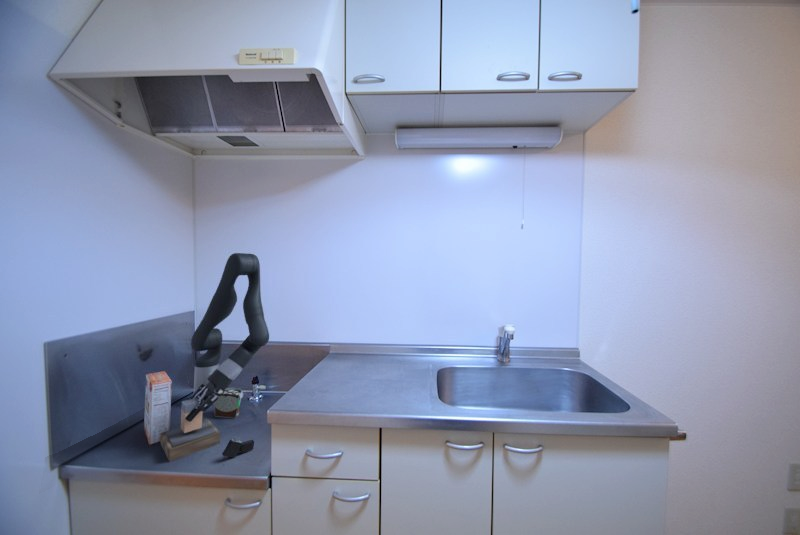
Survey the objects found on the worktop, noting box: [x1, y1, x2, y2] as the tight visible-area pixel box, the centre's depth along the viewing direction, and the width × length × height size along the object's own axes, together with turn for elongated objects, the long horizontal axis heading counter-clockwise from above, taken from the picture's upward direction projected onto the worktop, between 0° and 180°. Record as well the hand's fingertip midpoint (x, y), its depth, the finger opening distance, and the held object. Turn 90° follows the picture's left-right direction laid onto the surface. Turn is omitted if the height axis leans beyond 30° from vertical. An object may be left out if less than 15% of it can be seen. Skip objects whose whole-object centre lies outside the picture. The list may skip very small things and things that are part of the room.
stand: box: [159, 418, 221, 462], centre depth 100 cm, size 14×14×4 cm
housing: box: [180, 398, 204, 433], centre depth 101 cm, size 5×5×9 cm
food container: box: [213, 387, 244, 419], centre depth 122 cm, size 12×6×10 cm, turn 84°
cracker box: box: [143, 370, 173, 446], centre depth 105 cm, size 14×6×21 cm, turn 47°
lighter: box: [221, 435, 255, 458], centre depth 96 cm, size 9×2×6 cm
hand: (185, 417), depth 99 cm, fingers closed on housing, 5 cm apart
